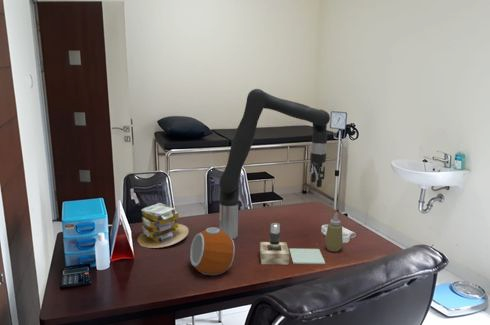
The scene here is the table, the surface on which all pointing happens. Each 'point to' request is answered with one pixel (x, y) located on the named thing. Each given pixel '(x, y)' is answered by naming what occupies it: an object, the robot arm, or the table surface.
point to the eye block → (274, 254)
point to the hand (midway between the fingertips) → (315, 184)
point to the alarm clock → (212, 251)
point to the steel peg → (274, 237)
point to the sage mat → (306, 256)
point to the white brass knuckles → (345, 233)
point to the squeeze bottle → (334, 235)
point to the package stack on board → (161, 227)
